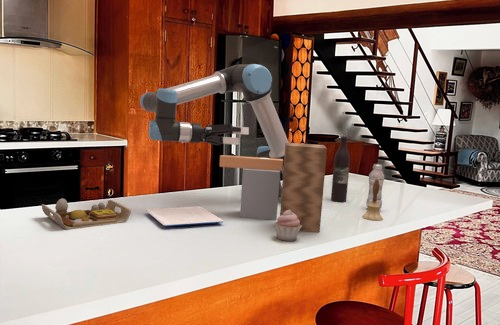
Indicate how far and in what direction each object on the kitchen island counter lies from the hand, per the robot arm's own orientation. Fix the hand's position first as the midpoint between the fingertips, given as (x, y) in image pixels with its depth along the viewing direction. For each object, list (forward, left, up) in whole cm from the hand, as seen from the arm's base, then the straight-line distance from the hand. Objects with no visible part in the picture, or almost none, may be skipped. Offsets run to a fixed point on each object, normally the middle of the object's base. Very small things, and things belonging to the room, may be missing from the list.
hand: (243, 136), depth 200 cm
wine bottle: (+18, +53, -30) cm, 63 cm away
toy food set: (-26, -53, -31) cm, 67 cm away
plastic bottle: (+37, +49, -30) cm, 68 cm away
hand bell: (+43, +34, -30) cm, 62 cm away
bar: (+6, -3, -12) cm, 13 cm away
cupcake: (+35, -18, -30) cm, 49 cm away
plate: (-4, -27, -30) cm, 41 cm away
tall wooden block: (+30, -2, -30) cm, 42 cm away
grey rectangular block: (+10, 0, -30) cm, 32 cm away
